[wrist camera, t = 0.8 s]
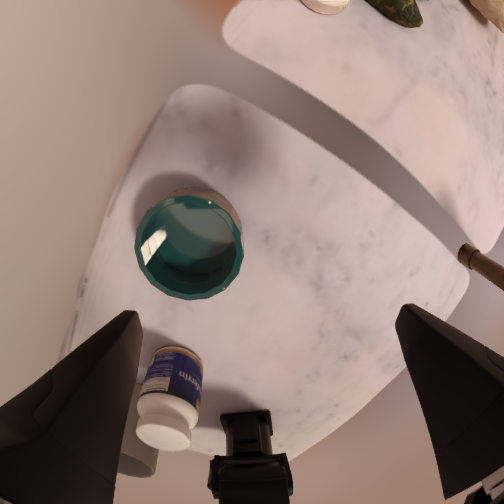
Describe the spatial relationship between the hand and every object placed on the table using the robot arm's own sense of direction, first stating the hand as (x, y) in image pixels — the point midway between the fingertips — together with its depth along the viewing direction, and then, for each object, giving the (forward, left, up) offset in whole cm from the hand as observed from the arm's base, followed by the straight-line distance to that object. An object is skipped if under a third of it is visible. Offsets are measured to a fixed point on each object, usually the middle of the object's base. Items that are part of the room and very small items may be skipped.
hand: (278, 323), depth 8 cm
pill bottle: (-15, +10, -15) cm, 23 cm away
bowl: (-1, +5, -14) cm, 15 cm away
